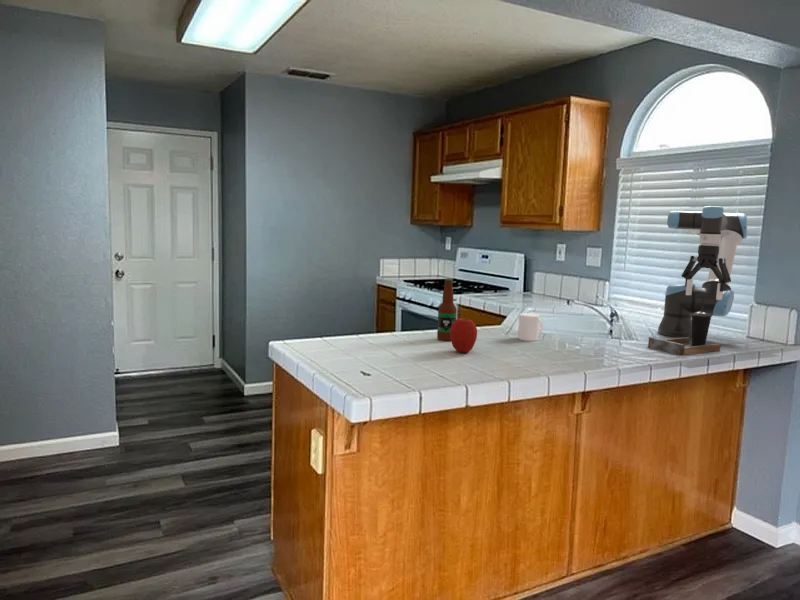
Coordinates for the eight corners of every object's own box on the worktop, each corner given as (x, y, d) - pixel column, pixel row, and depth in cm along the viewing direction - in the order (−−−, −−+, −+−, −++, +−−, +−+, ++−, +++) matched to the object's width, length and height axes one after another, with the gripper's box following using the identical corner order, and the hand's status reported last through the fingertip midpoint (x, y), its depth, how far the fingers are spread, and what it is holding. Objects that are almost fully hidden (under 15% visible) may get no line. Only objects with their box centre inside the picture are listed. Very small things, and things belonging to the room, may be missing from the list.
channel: (647, 346, 242) (648, 337, 241) (686, 342, 253) (687, 333, 253) (680, 355, 229) (681, 345, 228) (719, 350, 240) (720, 340, 239)
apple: (443, 350, 223) (445, 313, 221) (465, 348, 228) (467, 312, 226) (459, 356, 215) (461, 318, 213) (481, 353, 220) (483, 316, 218)
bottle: (435, 340, 240) (437, 279, 237) (439, 337, 247) (442, 277, 244) (452, 342, 238) (455, 280, 234) (456, 338, 245) (459, 278, 241)
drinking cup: (697, 349, 241) (702, 300, 238) (683, 345, 248) (688, 297, 245) (712, 348, 243) (718, 300, 240) (698, 344, 250) (704, 297, 247)
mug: (515, 313, 250) (536, 312, 256) (513, 337, 251) (534, 335, 257) (529, 316, 243) (550, 315, 249) (527, 341, 244) (548, 339, 250)
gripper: (675, 243, 248) (670, 293, 251) (733, 246, 226) (726, 301, 229) (687, 243, 252) (682, 293, 255) (745, 246, 230) (738, 301, 233)
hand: (703, 297), depth 242 cm, fingers open, 13 cm apart
